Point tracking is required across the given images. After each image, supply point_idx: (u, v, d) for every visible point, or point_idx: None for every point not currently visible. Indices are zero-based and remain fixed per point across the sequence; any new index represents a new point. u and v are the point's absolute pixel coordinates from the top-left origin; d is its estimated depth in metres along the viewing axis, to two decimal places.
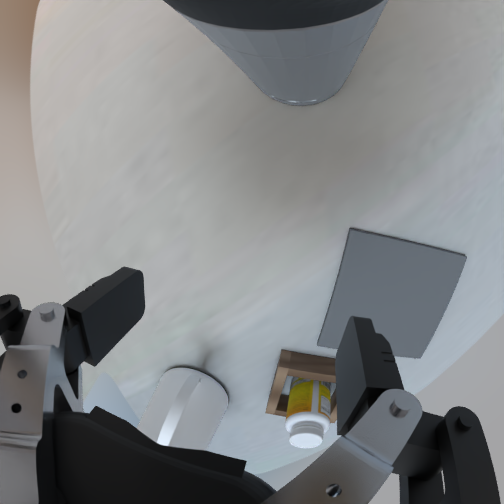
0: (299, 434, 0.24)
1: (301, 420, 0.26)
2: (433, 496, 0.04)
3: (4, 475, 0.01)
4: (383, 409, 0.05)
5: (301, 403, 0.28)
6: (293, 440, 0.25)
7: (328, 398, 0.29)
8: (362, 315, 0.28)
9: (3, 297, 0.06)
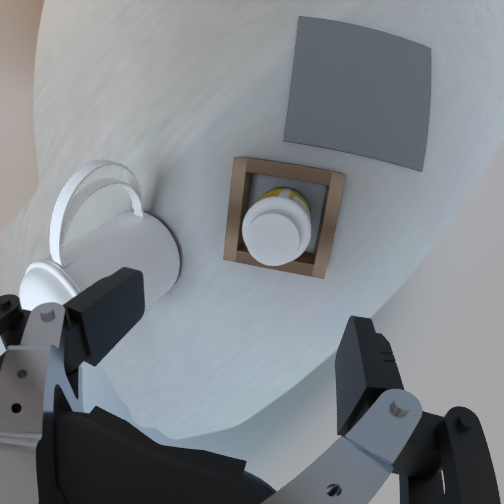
0: (258, 217, 0.18)
1: (264, 209, 0.20)
2: (433, 496, 0.04)
3: (4, 475, 0.01)
4: (383, 409, 0.05)
5: (264, 196, 0.22)
6: (251, 240, 0.19)
7: (306, 205, 0.23)
8: (330, 96, 0.22)
9: (3, 297, 0.06)
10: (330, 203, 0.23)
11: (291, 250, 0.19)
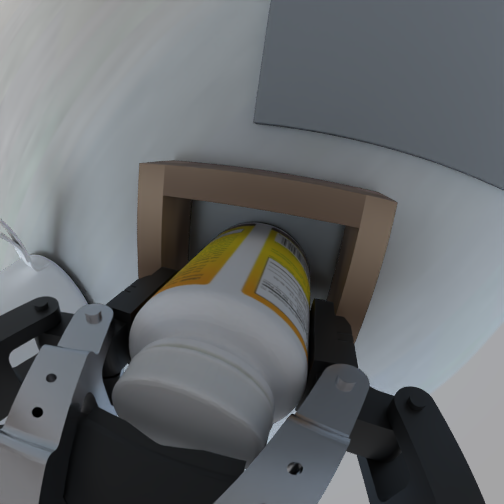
0: (127, 381, 0.05)
1: (165, 328, 0.06)
2: (399, 477, 0.04)
3: (4, 475, 0.01)
4: (326, 380, 0.06)
5: (186, 269, 0.08)
6: (129, 420, 0.05)
7: (299, 281, 0.09)
8: (352, 33, 0.09)
9: (41, 299, 0.06)
10: (358, 269, 0.10)
11: None
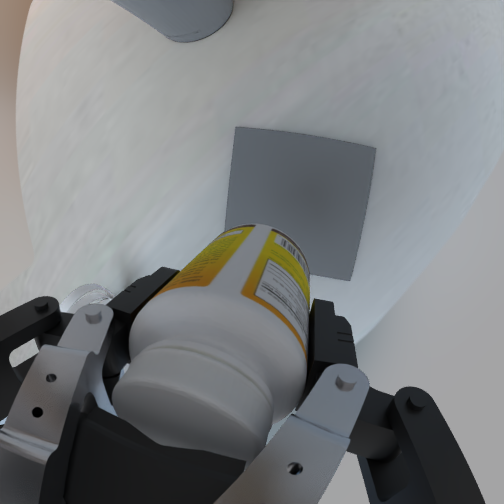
0: (127, 382, 0.05)
1: (164, 329, 0.06)
2: (399, 477, 0.04)
3: (4, 475, 0.01)
4: (327, 380, 0.06)
5: (186, 271, 0.08)
6: (129, 421, 0.05)
7: (299, 283, 0.09)
8: (262, 217, 0.28)
9: (41, 298, 0.06)
10: None
11: None
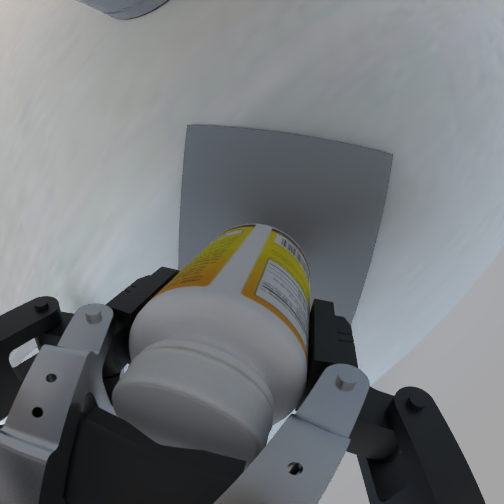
0: (127, 383, 0.05)
1: (165, 329, 0.06)
2: (399, 477, 0.04)
3: (4, 475, 0.01)
4: (327, 381, 0.06)
5: (186, 271, 0.08)
6: (129, 421, 0.05)
7: (299, 283, 0.09)
8: None
9: (41, 298, 0.06)
10: None
11: None
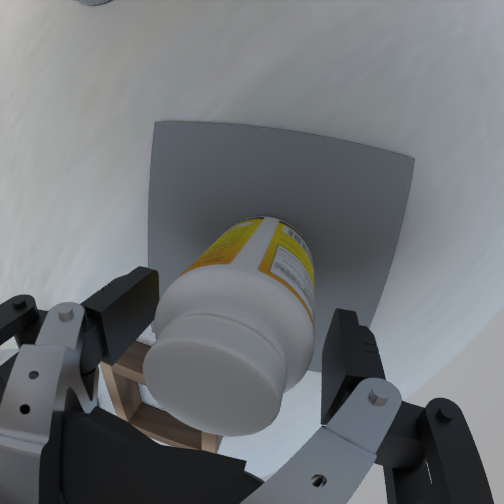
0: (162, 345, 0.06)
1: (192, 302, 0.07)
2: (420, 487, 0.04)
3: (4, 475, 0.01)
4: (361, 396, 0.05)
5: (207, 254, 0.09)
6: (157, 387, 0.07)
7: (305, 267, 0.11)
8: None
9: (18, 297, 0.06)
10: None
11: (257, 420, 0.06)
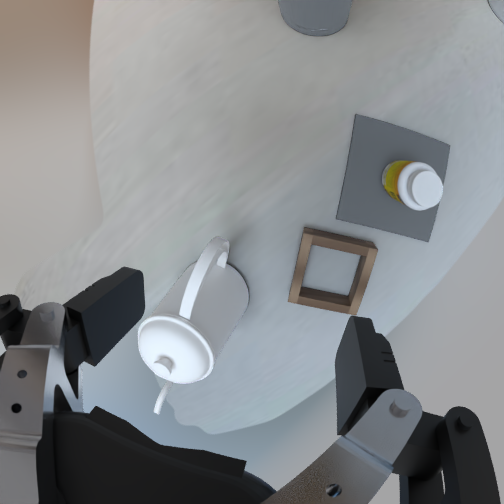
0: (421, 172, 0.22)
1: (416, 169, 0.24)
2: (433, 496, 0.04)
3: (4, 475, 0.01)
4: (383, 409, 0.05)
5: (407, 162, 0.25)
6: (416, 187, 0.23)
7: None
8: (372, 187, 0.33)
9: (3, 297, 0.06)
10: (366, 268, 0.34)
11: (438, 197, 0.22)
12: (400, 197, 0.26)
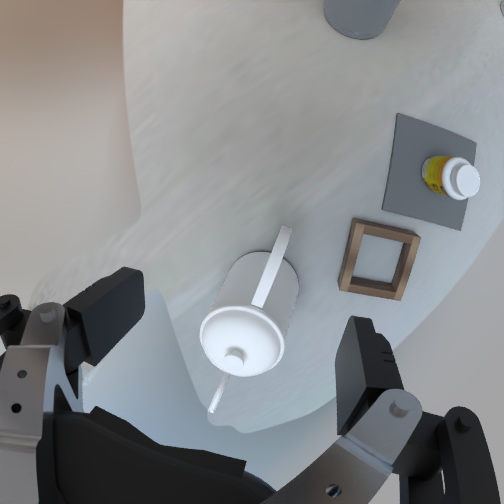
0: (463, 166, 0.23)
1: (457, 163, 0.24)
2: (433, 496, 0.04)
3: (4, 475, 0.01)
4: (383, 409, 0.05)
5: (447, 157, 0.26)
6: (459, 179, 0.23)
7: None
8: (413, 180, 0.33)
9: (3, 297, 0.06)
10: (410, 254, 0.34)
11: (476, 187, 0.23)
12: (444, 188, 0.26)
